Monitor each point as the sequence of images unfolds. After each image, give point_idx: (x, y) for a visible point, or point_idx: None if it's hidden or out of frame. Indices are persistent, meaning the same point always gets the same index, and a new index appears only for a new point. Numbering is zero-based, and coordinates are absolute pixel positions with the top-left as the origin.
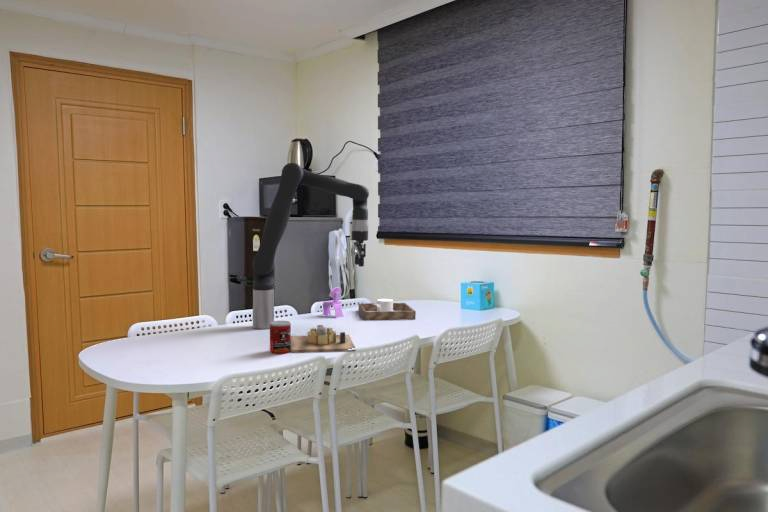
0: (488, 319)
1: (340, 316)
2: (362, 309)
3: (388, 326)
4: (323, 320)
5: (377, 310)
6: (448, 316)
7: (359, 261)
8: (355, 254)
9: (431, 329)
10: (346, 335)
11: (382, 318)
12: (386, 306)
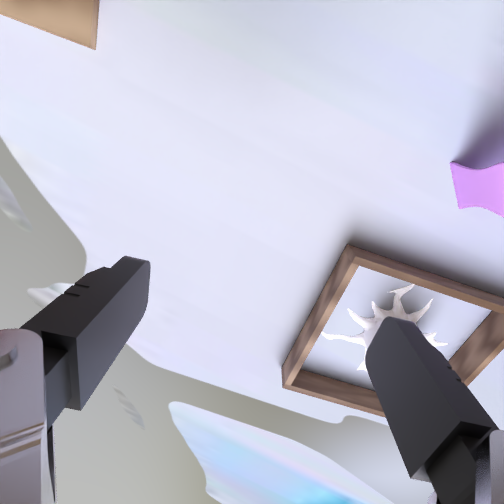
0: (209, 473)
1: (457, 191)
2: (422, 277)
3: (221, 262)
4: (443, 91)
5: None
6: (277, 438)
7: (87, 296)
8: (484, 480)
9: (144, 336)
10: (77, 29)
11: (321, 296)
12: None
